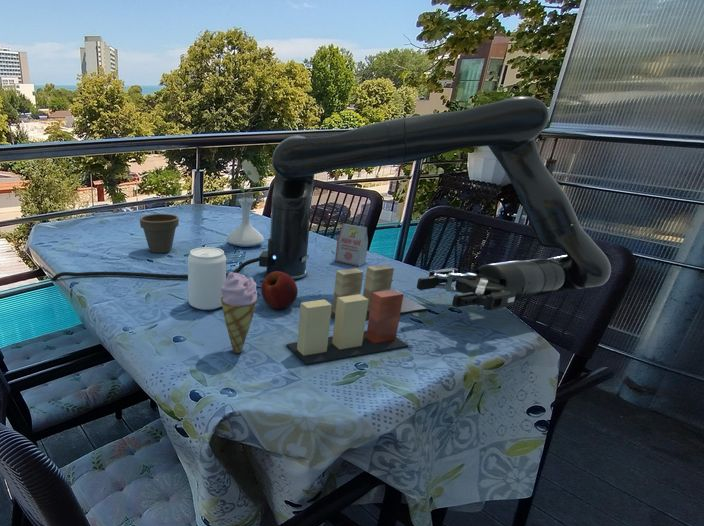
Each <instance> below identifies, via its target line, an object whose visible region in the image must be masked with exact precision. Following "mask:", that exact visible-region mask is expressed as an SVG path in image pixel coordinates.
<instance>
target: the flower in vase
mask: <svg viewBox="0 0 704 526" xmlns="http://www.w3.org/2000/svg"><path fill="white" fill-rule="evenodd" d="M241 167H242V170H243V172H244V173H245V178H244V180H243V183H242V186H241V185H239V186H240V188H239V191H241V192H242V193H243V198H238V199H237V201H238V203H239V204H240V208H241V223H240V224H239V226H238V227H236V228H235V229H234V230H232V231H231V232H230V233H229V234H228V235H227V237H226V241H227V242H228V244H230V245H232V246H236V247H243V248H244V247H245V248H246V247H248V248H249V247H255V246H258V245H261V244H263V242H264V241H265V238H264V236H263V234H262V233H261V232H259V231H258V230H257V229H256V228H255V227H253V226H252V224H251V220H250V218H251V216H250V215H251V209H252V206H253V203H254V202H255V201H256V200H255V198H252V197H251V198H249V197H246V195H248V194H249V193H251V192H252V191H253V189H252V188H250V189H249V190H248V191H246V192H245V183H246V180H247V178H249V180H250V181H252V183H255V184H257V183H260V182H261V180H260V178H261V176H260V174H259V171H258V168H257V167H256V166H254V163H252V161H250V160H249V161H248V160H247V159H244V160H243V161H242V162H241Z"/></svg>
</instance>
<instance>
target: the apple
mask: <svg viewBox="0 0 704 526" xmlns="http://www.w3.org/2000/svg"><path fill="white" fill-rule="evenodd" d="M260 292H261V296H262V299H263V301H264V302H265V303H266V305H267V306H269V307H270V308H272V309H275V310H281V309H286V308H288V307H290V306H291V305H292V304H293V303H295V301H296V299H297V297H298V285H297V283H296V281H295V279H292V278H291V277H290V276H289V275H288V274H286V273H284V272H279V271H274V272H271V273H269V274H268V275H267V274H266V276H265V278H264V279H263V280H262V282H261V285H260Z"/></svg>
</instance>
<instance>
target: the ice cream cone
mask: <svg viewBox="0 0 704 526" xmlns="http://www.w3.org/2000/svg"><path fill="white" fill-rule="evenodd" d="M228 273H229V274H228V276H226V281H225V283H224V285H223V286H222V287H221V291H222V295H223V296H222V297H221V302H222V306H221V307H222V314H223V319H224V323H225V327H226V330H227V334H228V337H229V341H230V345H231V348H232V352H233V353H235V354H240V353H241V352H242V350H243V348H244V345H245V342H246V339H247V336H248V333H249V330H250V327H251V324H252V321H253V317H254V313H255V307H256V304H257V300H258V293H257V282H255V280H254V278H253V277H247V276H246V275H244V274H240V273H233V271H230V272H228Z"/></svg>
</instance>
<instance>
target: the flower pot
mask: <svg viewBox="0 0 704 526" xmlns="http://www.w3.org/2000/svg"><path fill="white" fill-rule="evenodd" d="M179 219H180V217H179V216H178V215H175V214H169V213H154V214H146V215H143V216H141V217H139V225H140V228H142V229H143V232H144V235H145V239H146V243H147V247H148V250H149V251H150V252H151V253H154V254H164V253H165V254H166V253H169V252H171V250H172V248H173V244H174V239H175V233H176V229H177V227H179V225H180V223H179V222H180V221H179Z"/></svg>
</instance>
